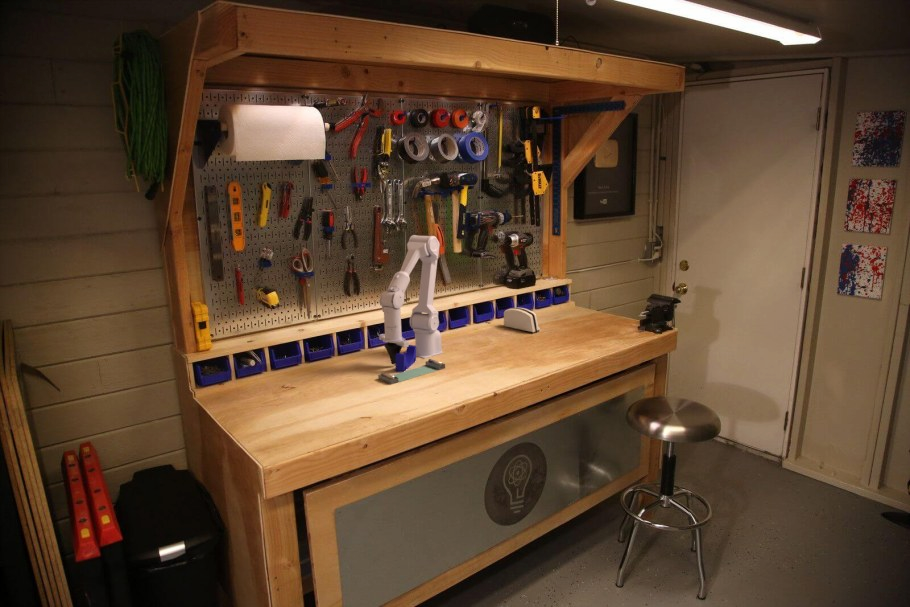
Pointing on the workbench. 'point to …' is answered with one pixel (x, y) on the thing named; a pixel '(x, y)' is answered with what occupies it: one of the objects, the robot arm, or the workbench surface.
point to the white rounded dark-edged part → (521, 319)
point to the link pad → (413, 373)
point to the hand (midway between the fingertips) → (394, 363)
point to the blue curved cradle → (406, 359)
